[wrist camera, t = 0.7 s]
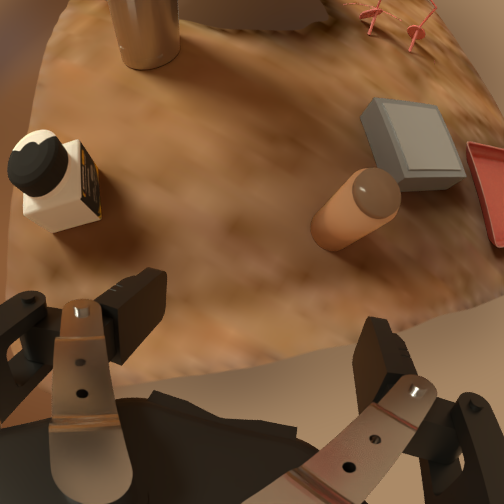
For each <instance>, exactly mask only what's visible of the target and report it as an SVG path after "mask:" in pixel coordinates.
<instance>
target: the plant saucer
mask: <svg viewBox="0 0 504 504" xmlns="http://www.w3.org/2000/svg"><path fill="white" fill-rule="evenodd" d="M466 155H467V162H468V165H469V168H470V171H471V174H472V177H473V180H474V184H475V187H476V190H477V194H478V198H479V201H480V205H481V209H482V213H483V217H484V221H485V225H486V230H487V234H488V238H489V240H490V241H491V242H492V243H493V244H494V245H495V246H496V247H498V248H501V247H504V149H501V148H497V147H493V146H489V145H484V144H480V143H475V142H470V141H468V142H467V144H466Z"/></svg>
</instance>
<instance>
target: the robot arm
mask: <svg viewBox="0 0 504 504" xmlns="http://www.w3.org/2000/svg"><path fill="white" fill-rule="evenodd" d="M108 4H109V9H110V13H111V17H112V21H113V25H114V29H115V33H116V37H117V41H118V45H119V49H120V52H121V56H122V60H123V62H124V63H125V64H126V65H127V66H128V67H131V68H134V69H142V70H144V69H152V68H156V67H159V66H162V65H164V64H166V63H168V62H169V61H171V60H172V59H174V58H175V56H176V55H177V54H178V52H179V50H180V36H179V17H178V16H179V15H178V0H108ZM166 288H167V274H166V272H165V271H161V270H157V269H153V268H149V267H148V268H146V269H145V270H143V271H142V272H141V273H139V274H138V275H136V276H131V277H128V278H125V279H123V280H121V281H120V282H118V283H117V284H116V285H114V286H113V287H111V288H110V289H109V290H107V291H106V292H104V293H103V294H102V295H100V296H99V297H97V298H96V299H95V300H89V299H76V300H72V301H70V302H68V303H66V304H65V305H64V306H63V309H58V308H52V307H47V304H46V297H45V295H44V294H42V293H41V292H38V291H25V292H21V293H18V294H17V295H15V296H13V297H12V298H10V299H9V300H7V301H6V302H4V303H3V304H1V305H0V504H368V503H367V502H366V501H365V499H366V498H367V496H368V495H369V494H370V493H371V491H373V489H374V488H375V487H376V486H377V484H378V483H379V482H380V481H381V479H382V478H383V477H384V476H385V474H386V473H387V472H388V471H389V469H390V468H391V467H392V465H393V464H394V463H395V461H396V460H397V459H398V457H399V456H400V454H401V453H405V454H409V455H412V456H416V457H419V462H420V467H421V475H422V482H423V490H424V499H425V504H504V436H503V433H502V431H501V429H500V427H499V424H498V422H497V419H496V417H495V415H494V413H493V411H492V408H491V406H490V404H489V403H488V402H487V401H486V400H485V399H484V398H483V397H481V396H480V395H478V394H475V393H471V392H465V393H462V394H461V395H460V396H459V398H458V399H457V401H456V403H454V402H451V401H448V400H445V399H442V398H439V397H437V390H436V388H435V386H434V385H433V384H432V383H431V382H430V381H429V380H427V379H426V378H424V377H421V376H418V374H417V371H416V369H415V367H414V364H413V361H412V359H411V358H410V354H409V352H408V351H407V350H408V349H407V347H406V345H405V342H404V341H403V340H402V339H401V338H400V337H399V336H398V335H397V334H396V333H392V331H391V328H390V326H389V323H388V321H387V320H386V319H381V318H376V317H370V316H369V317H368V318H367V319H366V321H365V324H364V327H363V329H362V332H361V335H360V337H359V340H358V343H357V346H356V348H355V351H354V355H353V362H352V365H353V373H354V380H355V387H356V394H357V403H358V411H359V416H358V417H357V418H356V419H355V420H354V421H353V422H351V423H350V424H349V425H348V426H347V427H346V428H345V429H344V430H343V431H342V432H341V433H340V434H339V435H337V436H336V437H335V438H334V439H333V440H332V441H331V442H329V444H327V445H326V446H325V447H324V448H323V449H321V450H318V449H317V448H315V447H314V446H312V445H310V444H309V443H307V442H305V441H303V440H300V439H298V438H296V434H297V427H293V426H287V425H282V424H277V423H272V422H267V421H262V420H241V419H225V418H220V417H217V416H215V415H213V414H211V413H209V412H207V411H205V410H203V409H201V408H199V407H198V406H195V405H194V404H192V403H190V402H188V401H185V400H182V399H179V398H176V397H173V396H170V395H167V394H163V393H161V392H158V391H155V390H154V391H153V392H152V394H151V395H150V397H149V398H148V399H146V398H121V399H116V400H115V398H114V393H113V387H112V382H111V376H110V370H109V364H108V363H109V362H110V361H111V362H114V363H116V364H119V365H121V366H122V365H123V364H124V362H125V361H126V360H127V359H128V358H129V357H130V355H131V354H132V353H133V352H134V351H135V350H136V349H137V347H138V346H139V345H140V344H141V343H142V342H143V341H144V339H145V338H146V337H147V336H148V335H149V334H150V333H151V331H152V330H153V329H154V328H155V327H156V326H157V325H158V324H159V322H160V321H161V320H162V318H163V316H164V313H165V308H166ZM19 337H20V341H21V345H22V350H21V351H20V352H18V353H17V354H16V355H15V356H14V357H13V358H12V359H11V360H10V361H7V357H6V354H7V349H8V347H9V346H10V345H11V344H12V343H13V342H14V341H16V340H17V339H18V338H19ZM52 369H53V376H52V417H51V418H47V419H43V420H39V421H35V422H30V423H26V424H21V425H17V426H12V427H7V428H2V429H1V424H2V423H3V422H4V421H5V420H6V418H7V417H8V416H9V415H10V414H11V413H12V412H13V411H14V410H15V409H16V407H17V406H18V405H19V404H20V403H21V402H22V401H23V400H24V399H25V398H26V397H27V396H28V394H29V393H30V392H31V391H32V390H33V389H34V388H35V387H36V386H37V385H38V384H39V383H40V382H41V381H42V380H43V379H44V378H45V377H46V375H47V374H48V373H49V372H50V371H51V370H52ZM461 453H463V456H464V461H465V464H464V469H463V471H462V469H461V465H460V461H459V455H460V454H461Z"/></svg>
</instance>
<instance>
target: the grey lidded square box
mask: <svg viewBox="0 0 504 504" xmlns="http://www.w3.org/2000/svg"><path fill="white" fill-rule="evenodd" d="M360 119H361V122H362V124H363V127H364V130H365V133H366V135H367V138H368V141H369V144H370V147H371V149H372V152H373V155H374V158H375V161H376V164H377V167H378V168H380V169H382V170H384V171H386V172H388V173H389V174H390V175H391V176H392V177H393V178H394V179H395V180H396V182H397V184H398V186H399V188H400V192H409V191H427V190H447V189H448V188H450V187H452V186H453V185H455V184H456V183H458V182H460V181H461V180H463V179H464V178H466V177H467V176H466V173H465V171H464V168H463V165H462V163H461V160H460V157H459V155H458V152H457V150H456V147H455V145H454V142H453V140H452V138H451V135H450V133H449V131H448V129H447V126H446V124H445V122H444V120H443V118H442V115H441V113H440V111H439V109H438V107H437V106H435V105H430V104H423V103H417V102H410V101H402V100H394V99H385V98H375V97H374V98H373V99H372V101H371V102H370V104H369V105H368V107H367V108H366V109H365V111H364V112H363V114H362V115H361V116H360Z"/></svg>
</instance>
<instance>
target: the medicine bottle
mask: <svg viewBox="0 0 504 504" xmlns="http://www.w3.org/2000/svg"><path fill="white" fill-rule="evenodd" d="M7 172H8V177H9V180H10V181H11V183H12V184H13V185H15V186H16V187H17V188H18V189H20V190H21V191H22V192H23V193H24V196H23V214H24V216H25V217H27V218H28V219H30V220H31V221H33V222H35V223H36V224H38V225H39V226H41V227H43V228H44V229H46V230H47V231H49V232H51V233H55V232H58V231H62V230H65V229H69V228H73V227H76V226H80V225H83V224H87V223H91V222H94V221H98V220H101V218H102V214H101V204H100V192H99V177H98V167H97V166H96V164H95V163H94V161H93V160H92V158H91V157H90V155H89V154H88V152H87V151H86V149H85V148H84V146H83V145H82V143H81V142H80V140H74V141H71V142H68V143H65V144H62V143H61V142H60V141H59V139H58V138H57V137H56V135H55V134H54V133H53V132H51V131H49V130H38V131H34V132H32V133H30V134H28V135H26V136H25V137H24V138H22V139H21V140H20V141H19V143H18V144H17V145H16V146H15V148H14V149H13V151H12V153H11V155H10V158H9V161H8V170H7Z"/></svg>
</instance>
